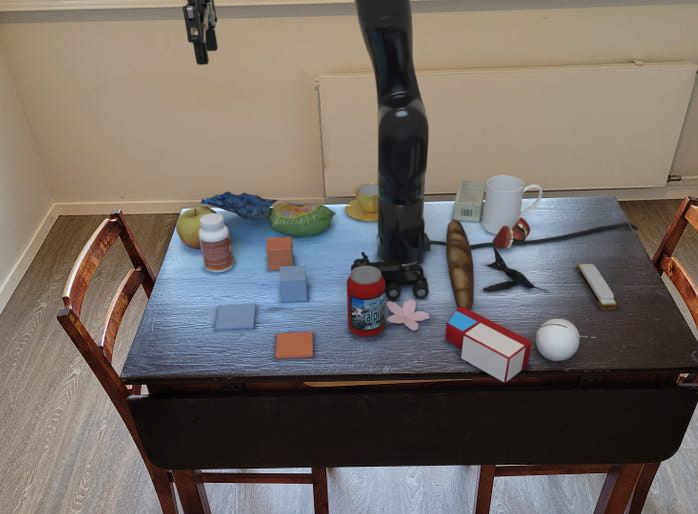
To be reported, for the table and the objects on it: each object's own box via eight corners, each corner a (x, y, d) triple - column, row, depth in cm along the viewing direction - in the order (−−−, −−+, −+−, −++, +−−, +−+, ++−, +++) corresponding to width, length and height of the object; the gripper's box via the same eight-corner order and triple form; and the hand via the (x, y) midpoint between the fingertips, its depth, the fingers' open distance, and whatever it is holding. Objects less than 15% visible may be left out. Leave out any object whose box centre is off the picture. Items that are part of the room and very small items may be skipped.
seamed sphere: (522, 343, 118) (533, 313, 122) (543, 372, 121) (553, 342, 125) (577, 333, 111) (587, 302, 115) (597, 364, 114) (606, 332, 118)
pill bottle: (239, 267, 146) (232, 220, 139) (212, 277, 143) (203, 229, 136) (226, 255, 150) (218, 208, 143) (199, 263, 147) (190, 216, 140)
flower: (438, 338, 129) (440, 332, 127) (385, 338, 126) (387, 332, 125) (426, 301, 135) (428, 295, 134) (376, 301, 133) (377, 295, 132)
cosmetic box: (479, 222, 158) (484, 198, 167) (481, 204, 155) (486, 181, 164) (451, 219, 159) (458, 196, 168) (453, 201, 157) (460, 179, 166)
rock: (263, 216, 147) (262, 225, 147) (283, 197, 162) (282, 205, 162) (196, 200, 147) (195, 209, 148) (222, 183, 162) (221, 191, 163)
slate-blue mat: (255, 306, 135) (255, 303, 135) (253, 328, 130) (253, 325, 129) (219, 308, 135) (219, 305, 134) (215, 330, 129) (215, 327, 129)
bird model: (531, 275, 146) (542, 301, 138) (475, 265, 144) (482, 291, 136) (541, 253, 143) (552, 279, 135) (483, 242, 141) (491, 268, 133)
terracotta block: (293, 257, 149) (291, 236, 145) (292, 269, 145) (290, 248, 142) (269, 258, 148) (267, 237, 145) (268, 270, 145) (266, 250, 141)
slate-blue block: (307, 286, 140) (305, 265, 137) (307, 300, 136) (305, 279, 133) (282, 287, 140) (280, 266, 137) (281, 302, 136) (279, 280, 133)
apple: (235, 233, 153) (222, 200, 148) (204, 257, 148) (189, 224, 143) (207, 228, 159) (193, 196, 154) (176, 251, 154) (161, 219, 149)
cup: (406, 208, 164) (407, 187, 160) (372, 227, 157) (372, 206, 154) (368, 193, 170) (368, 173, 167) (334, 211, 164) (333, 190, 160)
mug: (485, 236, 153) (490, 192, 146) (479, 218, 159) (483, 175, 152) (540, 234, 153) (548, 190, 146) (532, 217, 159) (539, 173, 152)
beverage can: (357, 344, 125) (355, 288, 118) (342, 323, 130) (340, 268, 122) (391, 334, 127) (391, 278, 120) (375, 314, 132) (375, 259, 124)
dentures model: (511, 243, 144) (537, 229, 148) (499, 227, 145) (524, 214, 148) (498, 257, 149) (524, 244, 153) (487, 242, 150) (512, 229, 153)
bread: (441, 223, 158) (443, 203, 155) (463, 223, 158) (465, 203, 154) (452, 324, 129) (454, 302, 126) (479, 324, 129) (482, 302, 125)
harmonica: (616, 309, 131) (619, 300, 130) (600, 310, 131) (603, 301, 130) (590, 268, 143) (592, 259, 141) (576, 269, 142) (577, 260, 141)
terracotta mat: (312, 334, 128) (312, 331, 127) (313, 357, 123) (312, 354, 122) (277, 336, 128) (276, 333, 127) (276, 358, 123) (275, 356, 122)
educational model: (322, 246, 151) (321, 223, 147) (254, 237, 155) (251, 214, 151) (340, 221, 160) (340, 199, 157) (276, 214, 164) (274, 192, 161)
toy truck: (461, 304, 124) (437, 320, 121) (532, 340, 116) (509, 358, 113) (459, 329, 128) (435, 345, 124) (528, 366, 120) (505, 384, 116)
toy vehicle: (350, 279, 141) (349, 241, 136) (424, 275, 142) (426, 237, 136) (353, 303, 135) (352, 264, 129) (430, 298, 136) (432, 260, 130)
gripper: (204, -32, 117) (220, 68, 127) (220, -48, 128) (233, 45, 138) (160, -30, 117) (179, 69, 128) (180, -47, 128) (196, 46, 139)
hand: (207, 57), depth 133 cm, fingers open, 8 cm apart
